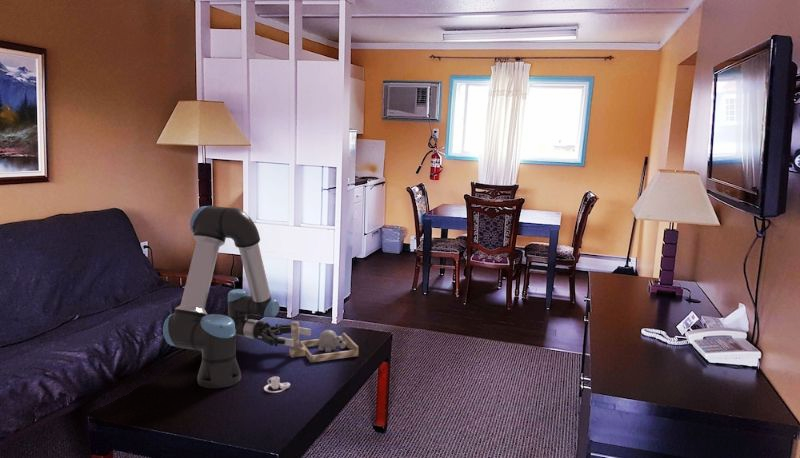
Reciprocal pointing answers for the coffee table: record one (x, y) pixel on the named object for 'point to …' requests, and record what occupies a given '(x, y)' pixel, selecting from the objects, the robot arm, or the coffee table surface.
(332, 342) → the chubby cartoon animal
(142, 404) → the coffee table surface
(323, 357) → the pull frame
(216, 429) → the coffee table surface
